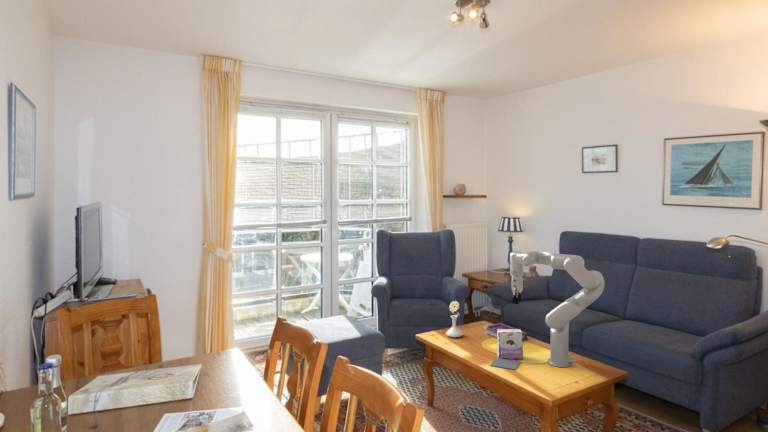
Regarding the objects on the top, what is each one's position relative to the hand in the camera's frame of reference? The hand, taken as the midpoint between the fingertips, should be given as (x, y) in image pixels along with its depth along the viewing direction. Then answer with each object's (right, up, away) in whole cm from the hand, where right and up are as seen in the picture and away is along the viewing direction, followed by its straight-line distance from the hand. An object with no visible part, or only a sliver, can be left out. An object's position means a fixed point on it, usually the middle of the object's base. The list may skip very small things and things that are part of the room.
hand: (516, 302), depth 264 cm
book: (+2, -31, +35) cm, 47 cm away
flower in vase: (-31, -31, +37) cm, 57 cm away
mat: (-10, -33, -12) cm, 37 cm away
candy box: (-5, -32, -3) cm, 33 cm away
